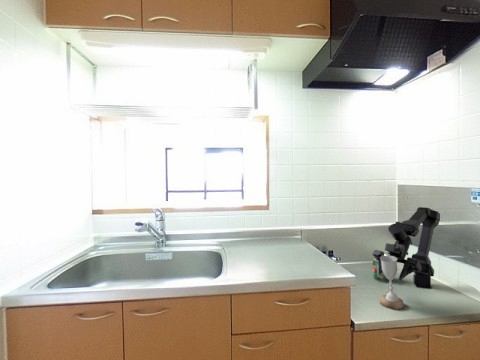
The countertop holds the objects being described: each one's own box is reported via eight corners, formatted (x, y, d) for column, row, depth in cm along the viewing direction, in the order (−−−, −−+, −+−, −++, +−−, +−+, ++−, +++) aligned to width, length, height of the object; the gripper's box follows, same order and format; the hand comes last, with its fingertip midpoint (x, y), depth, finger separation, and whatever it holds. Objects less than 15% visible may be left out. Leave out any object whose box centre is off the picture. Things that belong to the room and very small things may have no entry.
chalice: (398, 304, 112) (394, 262, 111) (381, 300, 117) (377, 259, 116) (403, 297, 117) (399, 257, 116) (386, 293, 122) (382, 254, 121)
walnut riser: (400, 301, 119) (400, 296, 119) (405, 311, 111) (405, 305, 111) (378, 299, 122) (378, 293, 122) (381, 308, 114) (381, 303, 114)
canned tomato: (392, 282, 139) (392, 261, 138) (377, 282, 139) (377, 261, 138) (384, 276, 147) (384, 256, 146) (370, 276, 147) (370, 257, 146)
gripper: (374, 232, 126) (361, 261, 120) (418, 240, 110) (405, 273, 104) (383, 246, 130) (371, 274, 124) (426, 255, 115) (415, 287, 109)
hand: (389, 276), depth 115 cm, fingers open, 8 cm apart
